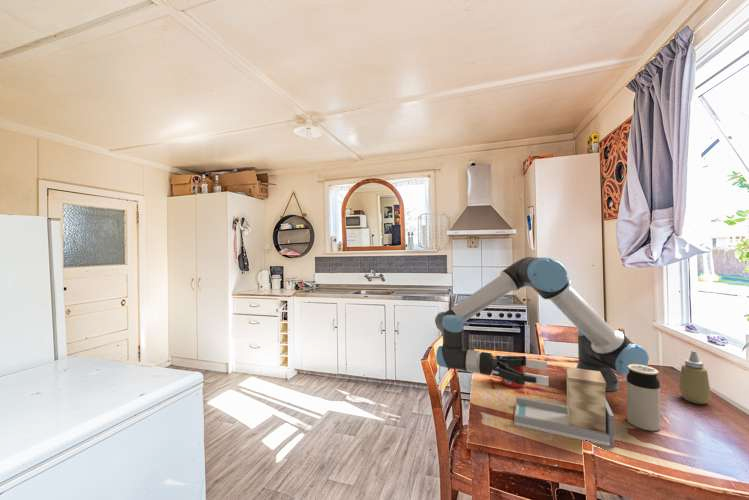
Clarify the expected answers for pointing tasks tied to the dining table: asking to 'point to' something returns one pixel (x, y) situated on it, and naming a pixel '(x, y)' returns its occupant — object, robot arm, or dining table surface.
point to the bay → (559, 421)
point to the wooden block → (586, 399)
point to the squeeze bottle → (694, 381)
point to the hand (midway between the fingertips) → (547, 373)
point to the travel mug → (643, 397)
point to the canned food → (510, 383)
